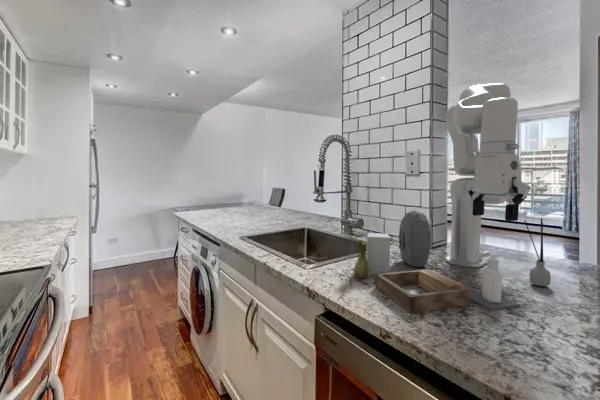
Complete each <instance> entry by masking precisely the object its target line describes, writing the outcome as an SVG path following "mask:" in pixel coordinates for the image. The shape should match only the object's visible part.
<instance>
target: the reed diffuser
mask: <svg viewBox="0 0 600 400" xmlns="http://www.w3.org/2000/svg"><path fill="white" fill-rule="evenodd" d="M523 221H524V223H525V226H526V229H527V232H528V234H529V237H530V239H531V242H532V245H533V247H534V250H535V253H536V256H537V259H536V266H534V267H532V268H530V270H529V283H530V284H532V285H535V286H538V287H539V286H541V287H548V286H550V285H551V278H552V277H551V272H550V271H549V270H548V269H547V268H546V267H545V266H546V265H545V261H544V240H543V239H544V237H543V236H544V234H543V233H544V232H543V230H544V229H543V227H544V222H543V218H540V251H539V252H540V253H538V251H537V247H536V246H535V243H534V240H533V237H532V235H531V232H530V229H529V226H528V223H527V221H526V219H524V220H523ZM539 254H540V255H539Z"/></svg>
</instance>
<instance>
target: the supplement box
mask: <svg viewBox="0 0 600 400" xmlns="http://www.w3.org/2000/svg"><path fill="white" fill-rule="evenodd" d="M390 247H391V237H390V235H389V233H379V232H378V233H370V232H367V233H366V259H367V262H368V266H369V275H370V274H371V275H375V274H383V273H390V249H391V248H390Z"/></svg>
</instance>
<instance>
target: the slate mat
mask: <svg viewBox="0 0 600 400" xmlns="http://www.w3.org/2000/svg"><path fill="white" fill-rule="evenodd" d="M470 302H473V303H475V304H477V305H479V306H481V307H483V308H485V309H487V310H489V311H498V310H503V309H505V310H506V309H510V308H511V309H512V308H517V307H521V303H520V302H517V301H514V300H511V299H510V298H507V297H505V296H504V295H503V296H502V295H501V303H491V302H489V301H487V300H486V299H484V298H483V296H482V291H477V292H476V291H475V292H471V293H470Z"/></svg>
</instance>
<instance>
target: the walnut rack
mask: <svg viewBox="0 0 600 400" xmlns="http://www.w3.org/2000/svg"><path fill="white" fill-rule="evenodd" d="M421 270H428V269H427V268H426V269H425V268H424V269H416V270H415V269H413V270H404V271H395V272H389V273H383V274H374V275H375V278H374V279H375V281H374V282H375V284H374V287H375V289H377V290H378V291H379V292H381V293H382V294H384V295H385V296H386V297H387V298H389V299H390V300H392V301H393V302H394V303H395V304H397V305H399V306H400V307H402V308H403V309H404V310H405V311H407V312H408V313H409V314H416V313H422V312H429V311H436V310H437V311H438V310H443V309H451V308H452V307H453V308H458V307H459V306H460V307H465V306H471V300H470V293H472V292H471V289H470V288H467V287H465V288H464V287H463V289H455V290H447V291H438V292H423V293H416V294H415V293H414V294H412V293H410V292H409V291H407V290H406V289H404V288H402V287H405V286H406V287H407V286H415V285H418V284H419V271H421ZM453 308H452V309H453Z"/></svg>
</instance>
